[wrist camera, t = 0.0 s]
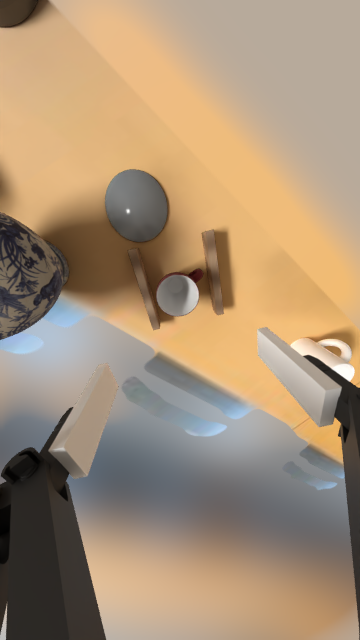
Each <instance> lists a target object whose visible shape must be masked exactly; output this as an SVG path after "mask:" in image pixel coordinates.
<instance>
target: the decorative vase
mask: <svg viewBox="0 0 360 640" xmlns="http://www.w3.org/2000/svg"><path fill="white" fill-rule="evenodd" d="M68 277H69V267H68V263H67V261H66V259H65V257H64V255H63V254H62V252H61V251H60V250H59V249H58V248H57V247H55V246H54V245H53V244H51V243H49V242H47V241H45V240H43V239H41V238H40V237H39V236H38V235H37V234H36V233H34V232H33V231H32V230H31V229H29V228H28V227H26V226H25V225H23V224H22V223H20V222H19V221H17V220H15V219H13V218H12V217H10V216H8V215H6V214H4V213H1V212H0V340H1V339H4V338H7V337H10V336H13V335H15V334H17V333H19V332H22V331H23V330H25V329H27V328H29V327H30V326H32V325H33V324H35V323H36V322H37V321H39V320H40V319H41V318H43V317H44V316H45V315H46V314H47V313H48V312H49V310H50V309H51V308H52V307H53V305H54V304H55V302H56V301H57V299H58V297H59V295H60V292H61V290H62V286H63V285H64V284H65V283H66V282H67V280H68Z"/></svg>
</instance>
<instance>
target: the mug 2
mask: <svg viewBox="0 0 360 640" xmlns="http://www.w3.org/2000/svg"><path fill="white" fill-rule="evenodd" d="M290 346H291V347H292V348H293V349H294V350H296V351H297V352H298V353H299V354H301V355H302V356H305V355H311V356H313V357H315V358H318V359H319V360H321V361H322V362H323V363H325V364H326V365H328V366H329V367H330V368H332V370H334V371H336V372H337V373H338V374H340V375H341V376H343V377H344V378H345V379H347V380H348V381H350V380H351V379H352V377H353V376H354V372H355V371H354V368H353V366H352V365H351V364H349V363H348V362H349V361H350V359H351V356H352V351H351V348H350V347H349V345H348V344H346V343H345V342H343V341H341V340H338V339H324V340H321V341H318V342H314V341H313V340H311V339H309V338H300V339H298V340H296V341H294V342H293V343H292V344H291V345H290ZM325 346H336V347H338V348H340V350H341V355H340V357H338V356H337V355H335V354H333V353H332V352H330V351H329V350H327V349H326V348H324V347H325Z"/></svg>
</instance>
